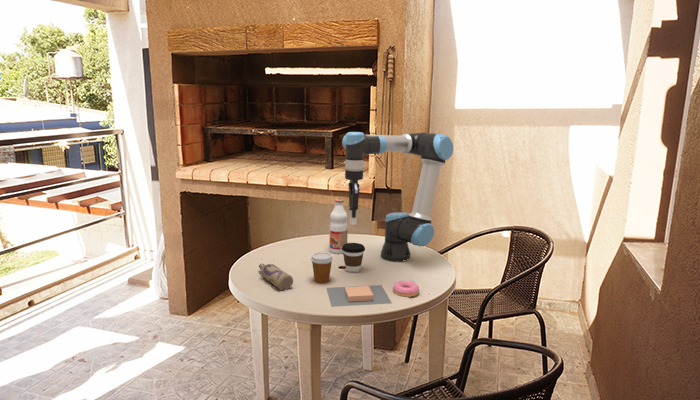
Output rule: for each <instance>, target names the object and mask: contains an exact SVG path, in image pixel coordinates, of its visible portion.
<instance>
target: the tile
mask: <svg viewBox="0 0 700 400" xmlns="http://www.w3.org/2000/svg"><path fill="white" fill-rule="evenodd" d="M358 286H359V287H351V286H344V287H345V294H346V297H347V300H348V302H356V301H372V300H373V293H372V291H371V290H370V288H369V286H370V285H358Z"/></svg>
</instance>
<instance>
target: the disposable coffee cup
mask: <svg viewBox="0 0 700 400" xmlns="http://www.w3.org/2000/svg"><path fill="white" fill-rule="evenodd" d="M310 260H311V263H312V269H313V271H312V273H313V277H314V278H313V279H314V282H315V283H317V284H327V283H329V281H330V278H331V277H330V276H331V271H332V264H333V263H332V262H333V260H334V257H333V256H332V254H330V253H328V252H316V253H313V254H312V255H311V257H310Z"/></svg>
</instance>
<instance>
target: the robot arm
mask: <svg viewBox="0 0 700 400" xmlns="http://www.w3.org/2000/svg"><path fill="white" fill-rule="evenodd" d="M341 145H342V147H343V149H345V161H344V162H343V163H344V167H345V171H344V178H345V179H346V180H349V182H348V184H347V186H348V207H349V208H348V210H349V226H354V225H355V226H357V217H358V216H357V215H358V214H357V213H358V210H359V200H360V199H359V197H360V191H361V190H360V184H359V180H360V181H361V180H363V179H364V170H363V169H364V161H365V160H364V157H365V155H379V154H384V153H385V152H401V153H402V154H409V155H410V154H411V155H414V156H415V155H416V156H418V157H420V161H421V163H422V167H421V170H420V171H421V172H420V176H419V179H418V184H417V187H416V188H417V189H416V192H415V193H416V194H415V197H414V201H413V206H412V210H411V212H406V211H405V212H403V211H402V212H396V211H395V212H389V213H387V214H386V216H385V220H384V221H385V222H384V224H385V225H384V243H383V245H382V248H381V251H380V258H382V259H383V260H385V261H388V260H389V262H396V261H400V262H404V261H403V260H406V261H408V260H407V259H409V258H410V259H411V251H410V247H409V244H412V245H413V246H417V247H425V246H427V245H428V244H430V242H431V241H432V240H433V238H434V235H435V227H434V225H433V224H432V221H433V219H432V217H431V211H432V206H433V202H434V197H435V194H436V190H437V184H438V180H439V176H440V173H441V168H442V167H443V166H444V165H445V164H446V161H447V160H449V159H450V158H451V157H452V156H453V153H454V144H453V141H452V139H451V137H449V136H448V135H446V134H442V133H433V132H415V133H413V132H412V133H403V134H401V135H395V134H394V135H393V134H391V135H389V134H364V132H362V131H361V132H360V131H349V132H347V133H345V135H344V136H343V138H342V141H341ZM410 259H409V260H410Z"/></svg>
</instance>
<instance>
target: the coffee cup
mask: <svg viewBox="0 0 700 400" xmlns="http://www.w3.org/2000/svg"><path fill="white" fill-rule="evenodd" d="M342 250H343V252H344V253H342V254H343V261H344V266H345V270H346V272H348V273H354V274H355V273H358V272H360V270H361V267H362V262H363V259H364V257H363V256H364V252H365V251H366V247H365V245H363V244H362V243H359V242H347V244H344V245H343V247H342Z"/></svg>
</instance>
